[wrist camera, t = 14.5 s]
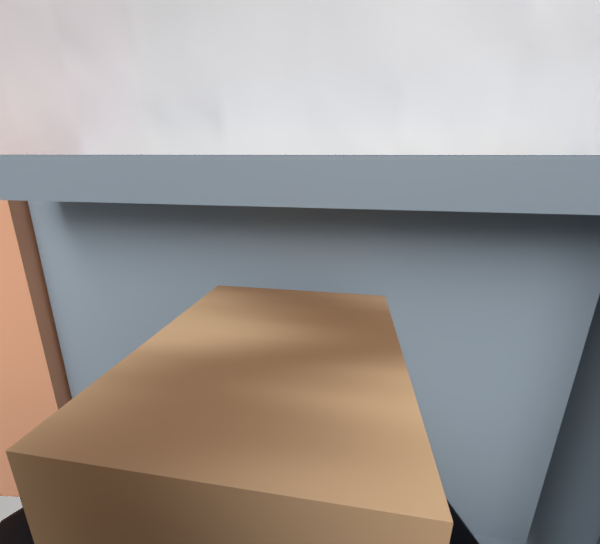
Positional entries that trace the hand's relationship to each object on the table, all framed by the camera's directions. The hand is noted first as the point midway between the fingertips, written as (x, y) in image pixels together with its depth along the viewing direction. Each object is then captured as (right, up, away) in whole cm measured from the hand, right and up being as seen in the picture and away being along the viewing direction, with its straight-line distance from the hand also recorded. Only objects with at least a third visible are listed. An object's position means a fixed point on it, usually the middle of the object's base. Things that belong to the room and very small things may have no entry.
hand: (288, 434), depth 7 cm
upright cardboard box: (0, 0, +1) cm, 1 cm away
